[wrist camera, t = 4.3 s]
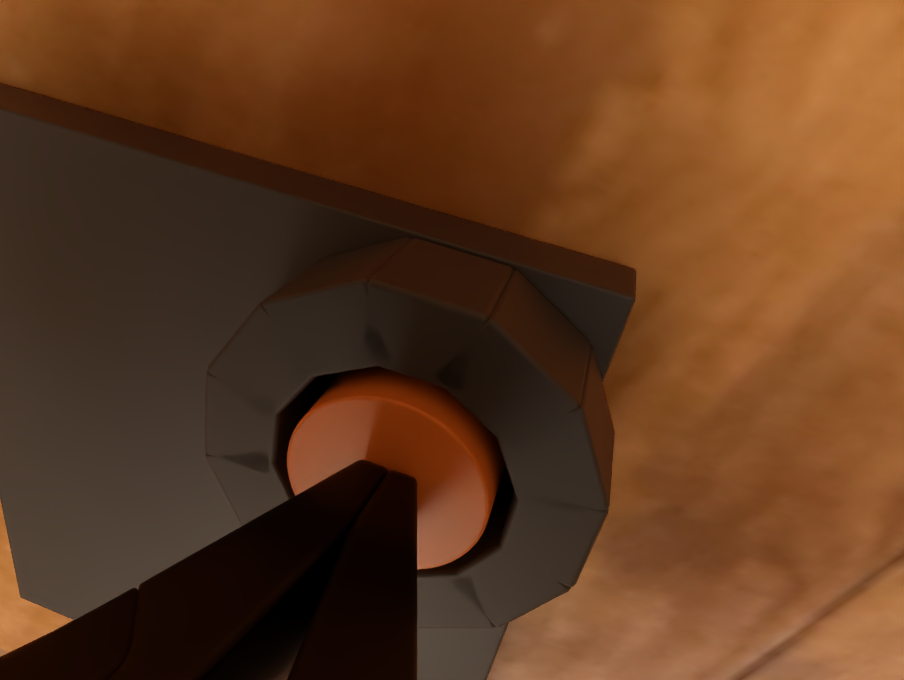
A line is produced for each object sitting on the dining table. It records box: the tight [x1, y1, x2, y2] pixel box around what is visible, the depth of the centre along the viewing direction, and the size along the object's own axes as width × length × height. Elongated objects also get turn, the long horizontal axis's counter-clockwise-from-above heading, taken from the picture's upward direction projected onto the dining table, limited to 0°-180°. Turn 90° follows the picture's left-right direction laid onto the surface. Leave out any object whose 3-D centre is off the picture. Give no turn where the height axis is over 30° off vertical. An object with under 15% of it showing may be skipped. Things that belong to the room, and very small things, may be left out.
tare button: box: [287, 366, 506, 570], centre depth 10 cm, size 3×3×2 cm
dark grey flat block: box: [0, 83, 636, 680], centre depth 12 cm, size 13×12×3 cm
